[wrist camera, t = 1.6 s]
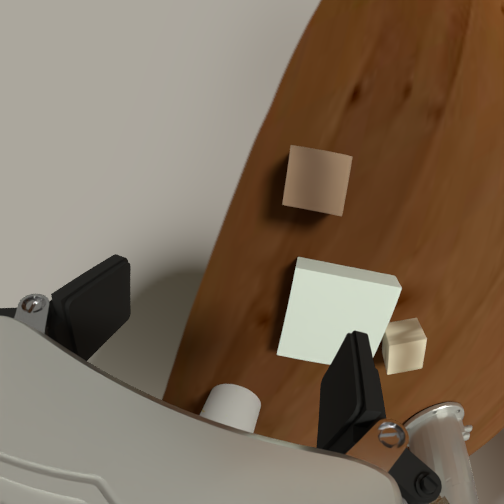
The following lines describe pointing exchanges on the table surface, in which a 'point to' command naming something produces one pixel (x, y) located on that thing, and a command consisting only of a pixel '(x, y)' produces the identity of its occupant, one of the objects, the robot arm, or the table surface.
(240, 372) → the table surface
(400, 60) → the table surface
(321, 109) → the table surface
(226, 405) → the white cylinder
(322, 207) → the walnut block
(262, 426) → the table surface
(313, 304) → the plate
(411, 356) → the birch block
